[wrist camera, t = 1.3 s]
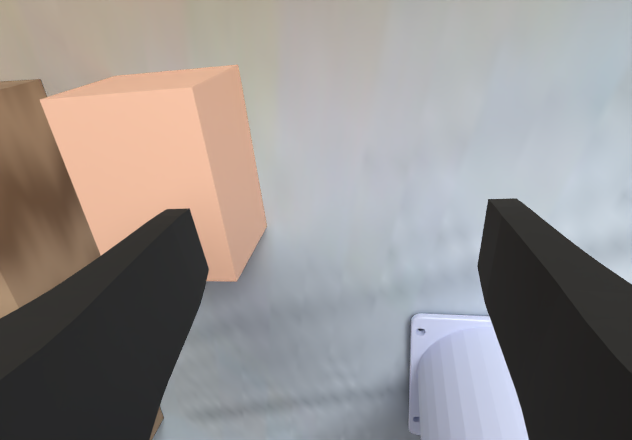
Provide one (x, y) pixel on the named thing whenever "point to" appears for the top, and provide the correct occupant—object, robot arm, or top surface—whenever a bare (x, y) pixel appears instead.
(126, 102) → the block
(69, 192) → the plank
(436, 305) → the top surface
